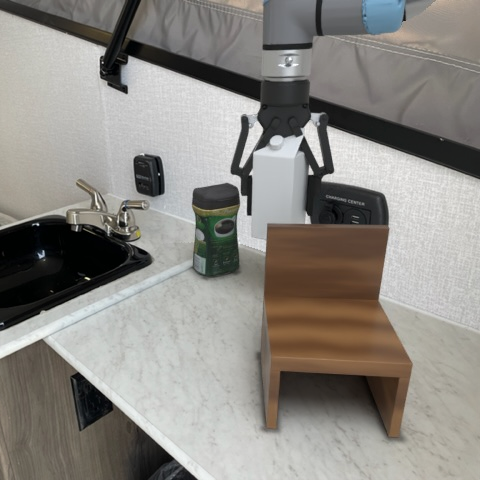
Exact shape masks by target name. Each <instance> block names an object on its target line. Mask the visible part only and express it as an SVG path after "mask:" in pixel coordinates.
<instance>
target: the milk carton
mask: <svg viewBox="0 0 480 480" xmlns="http://www.w3.org/2000/svg"><path fill="white" fill-rule="evenodd" d="M301 130H302V132H303V135H302V136H299V137H297V138H296V136H295V135H292V136H289V137H286V138H283V137H282V136H280V135H276V136H273V137H272V138H271V139H270V141H269V143H268V144H267V145H266V147H265V148H262V149H260V150H257V151H255V150H254V151H255V152H254V153H253V169H252V216H250V217H251V219H250V220H251V222H250V237H251V238H254V239H258V240H263V241H266V237H267V223H279V224H306V217H307V216H306V215H307V213H306V202H307V188H308V175H310V165H309V163H308V161H307V159H306V157H305V154H304V152H303V151H302V149H301V147H300V143H301V141H302V139H303V136H304V137H305V139H306V141H307V137H306V136H305V127H304V128H301ZM263 131H264V129H263V128H262V133H263ZM262 133H261V134H262ZM258 140H260V139H258ZM258 140H257V142H259V141H258ZM307 143H308V141H307ZM308 144H309V143H308ZM255 149H256V148H255Z"/></svg>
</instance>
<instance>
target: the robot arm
mask: <svg viewBox="0 0 480 480" xmlns="http://www.w3.org/2000/svg"><path fill="white" fill-rule="evenodd" d="M435 1H436V0H263V1H262V9H263V10H262V15H263V16H262V45H261V46H262V50H261V71H260V73H261V74H260V75H261V76H262V77H263V78H264V80H262V81H261V82H260V105H259V110H258V112H257V113H254V114H246V113H243V114H241V115H240V127H241V129H240V132H239V136H238V139H237V142H236V145H235V146H236V147H235V150H234V152H233V153H234V154H233V157H232V160H231V164H230V174H231V175H232V176H237V177H239V178H240V195H241V197H246V217H247V216H248V217H251V216H252V179H253V174H251V172H253V153H254V152H255V151H257V150H260V149H262V148H265V147H266V145H267V144H268V143H269V141H270V139H271V138H272V137H273V136H276V135H280V136H282V137H283V138H286V137H289V136H292V135H295V136H296V138H297V137H299V136H302V135H303V132H302V130H301V128H305V127H306V126H307V125H308V123H309V122H310V121H312V124H313V126H314V127H315V128H316V132H317V137H318V142H319V147H320V153H321V158H322V163H323V165H322V166H320V165H319V162H318V161H317V159H316V157H315V155H314V153H313V152H312V149H311V147H310V144H309V143H307V142H308V141H306V140H307V138H306V136H305V135H304V136H305V137H304V136H303V139H302V141H301V143H300V147H301V149H302V151H303V152H304V154H305V157H306V159H307V161H308V163H309V168H310V169H311V171H312V174H309V175H308V188H307V202H306V215H307V217H313V215H314V214H313V213H314V202H315V201H314V200H315V197H319V196H320V195H321V192H322V183H323V181H322V180H323V178H324V177H325V176H326V175H333V174H334V173H335V165H334V161H333V156H332V155H333V154H332V151H331V149H332V148H331V145H330V139H329V134H328V123H329V119H330V118H329V115H328V114H327V113H326V112H324V111H321V112H311V110H310V107H309V106H310V105H309V104H310V90H311V81H310V80H309V79H308V78H307V77H309V76H310V75H311V74H312V73H311V72H312V57H313V55H312V54H313V46H314V42H313V41H314V37H325V36H326V37H327V36H329V37H330V36H331V37H332V36H363V35H367V36H368V35H370V36H378V35H379V36H380V35H382V34H393V33H396V32H398V31H399V30H400V29H401V28H402V27H401V25H402V22H403V21H406V20H408V19H411V18H413V17H414V16H416V15H419V14H420V13H422V12H423V11H424V10H426V8H428V7H429V6H431V4H432V3H433V2H435ZM256 122H258V124H259V125H260V126H261V127H262V132H263V133H261V134H260V137H259V139H260V140H259V139H258V140H257V142H256V144H255V146H254V147H253V149H252V151H251V152H250V154H249V156H248V158H247V159H246V161H245V163H244V164H243V166H242V167H241V162H242V158H243V155H244V151H245V149H246V145H247V140H248V137H249V133H250V129H252V128H254V127H255V126H254V124H255V123H256ZM263 129H264V131H263ZM305 138H306V139H305ZM258 141H259V142H258ZM255 148H256V149H255ZM254 150H255V151H254Z"/></svg>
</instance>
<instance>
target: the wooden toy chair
mask: <svg viewBox="0 0 480 480" xmlns="http://www.w3.org/2000/svg"><path fill="white" fill-rule="evenodd" d="M389 235H390V226H388V224H340V223H339V224H335V223H305V224H279V223H267V237H266V240H265V257H264V258H265V261H264V279H263V296H262V297H263V298H262V314H261V315H262V316H261V334H260V335H261V336H260V355H259V356H260V364H261V377H262V387H263V388H262V389H263V401H264V412H265V424H266V429H272V430H273V429H275V430H276V429H277V425H278V410H279V398H280V397H279V394H280V383H281V382H280V381H281V372H296V373H311V374H312V373H313V374H329V375H330V374H331V375H351V376H365V379H366V381H367V384H368V386H369V389H370V392H371V394H372V396H373V399H374V402H375V404H376V408H377V410H378V412H379V415H380V418H381V420H382V423H383V425H384V429H385V431H386V433H387V437H388V438H399V437H400V432H401V427H402V422H403V417H404V411H405V408H406V407H405V406H406V401H407V396H408V391H409V386H410V381H411V375H412V371H413V367H414V366H413V365H414V364H413V362H412V359H411V358H410V356H409V354H408V352H407V351H406V348H405V347H404V344H403V343H402V341H401V339H400V337H399V335H398V334H397V332H396V330H395V328H394V326H393V324H392V322H391V321H390V319H389V317H388V315H387V313H386V311H385V310H384V307H383V306H382V304H381V303H380V293H381V287H382V281H383V273H384V267H385V260H386V255H387V248H388V243H389V242H388V241H389Z"/></svg>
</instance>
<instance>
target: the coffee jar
mask: <svg viewBox="0 0 480 480" xmlns="http://www.w3.org/2000/svg"><path fill="white" fill-rule="evenodd" d="M240 207H241V197H240V190H239V188H238V186H236V185H234V184H232V183H229V182H224V183H219V184H213V185H207V186H202V187H195V188H194V189H193V191H192V199H191V208H192V211H193V213H194V217H195V219H194V221H195V227H194V244H193V254H192V267H193V269H194V270H195V272H196V273H198V274H199V275H202V276H206V277H209V278H212V277H218V276H223V275H226V274H230V273H233V272H236V271H237V270H239V267H240V266H241V265H240V250H239V239H238V213H239V210H240Z"/></svg>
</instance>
